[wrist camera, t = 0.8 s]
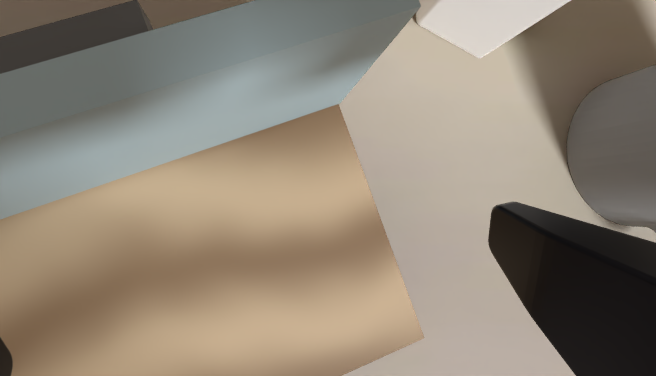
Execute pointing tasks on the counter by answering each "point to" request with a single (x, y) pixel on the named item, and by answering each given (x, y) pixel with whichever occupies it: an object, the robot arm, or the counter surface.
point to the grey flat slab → (170, 85)
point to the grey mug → (617, 149)
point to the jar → (482, 20)
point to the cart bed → (210, 266)
